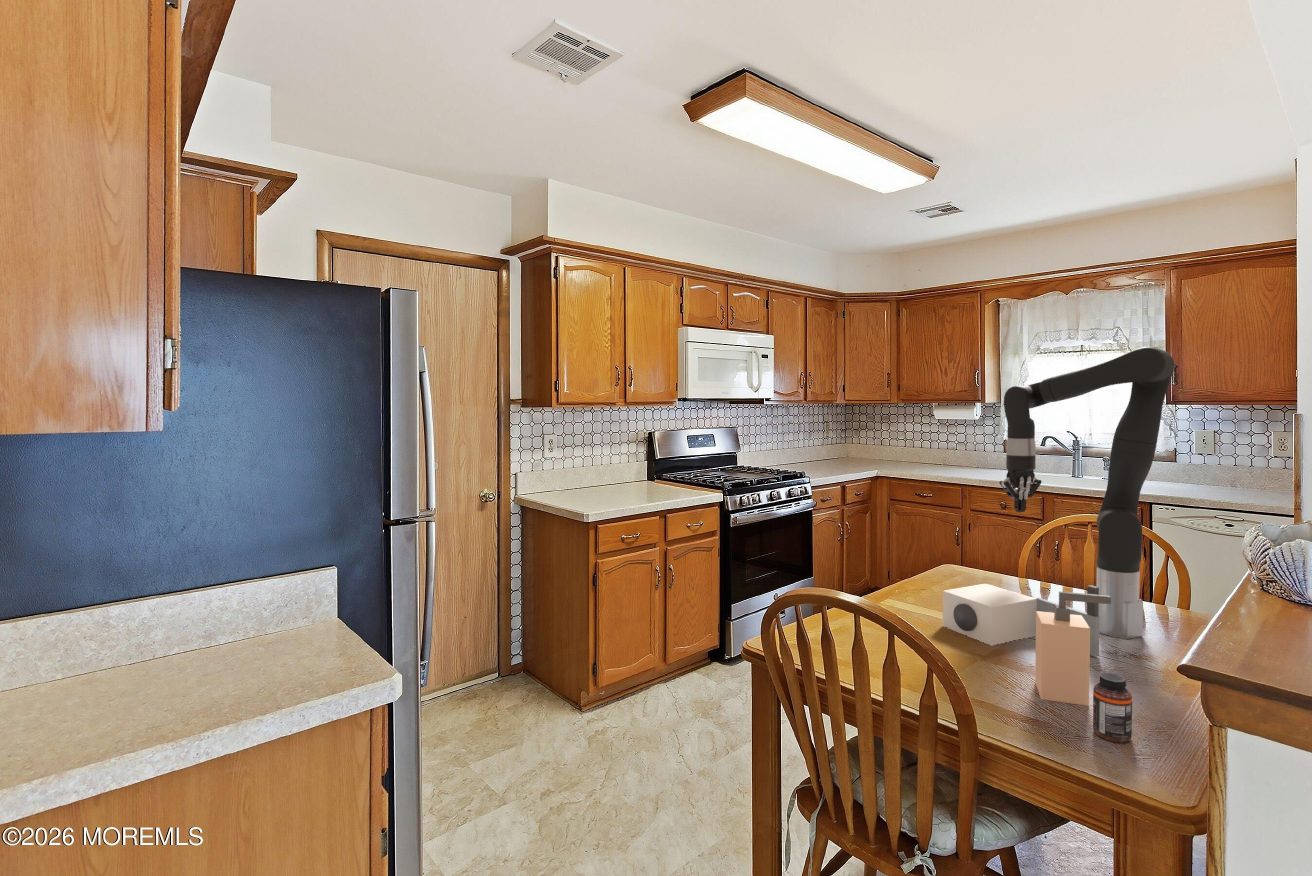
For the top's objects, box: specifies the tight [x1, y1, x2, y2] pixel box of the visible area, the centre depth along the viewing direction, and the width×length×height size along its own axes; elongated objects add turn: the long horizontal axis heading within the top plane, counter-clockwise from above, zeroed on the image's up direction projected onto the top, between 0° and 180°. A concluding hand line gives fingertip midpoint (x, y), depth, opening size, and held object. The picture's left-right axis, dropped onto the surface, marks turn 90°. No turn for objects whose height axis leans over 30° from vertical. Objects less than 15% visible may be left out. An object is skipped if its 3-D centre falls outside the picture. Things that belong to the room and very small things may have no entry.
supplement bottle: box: [1092, 672, 1133, 744], centre depth 121 cm, size 6×6×11 cm
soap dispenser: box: [1034, 591, 1111, 707], centre depth 137 cm, size 13×9×22 cm
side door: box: [1036, 585, 1100, 658], centre depth 164 cm, size 2×16×17 cm, turn 19°
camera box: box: [942, 582, 1037, 647], centre depth 175 cm, size 16×17×10 cm
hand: (1020, 511), depth 192 cm, fingers closed
